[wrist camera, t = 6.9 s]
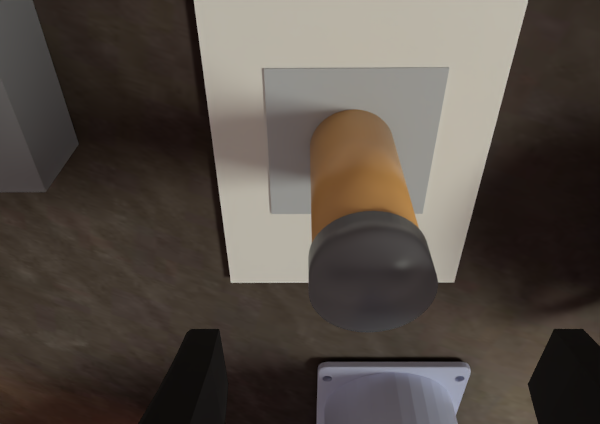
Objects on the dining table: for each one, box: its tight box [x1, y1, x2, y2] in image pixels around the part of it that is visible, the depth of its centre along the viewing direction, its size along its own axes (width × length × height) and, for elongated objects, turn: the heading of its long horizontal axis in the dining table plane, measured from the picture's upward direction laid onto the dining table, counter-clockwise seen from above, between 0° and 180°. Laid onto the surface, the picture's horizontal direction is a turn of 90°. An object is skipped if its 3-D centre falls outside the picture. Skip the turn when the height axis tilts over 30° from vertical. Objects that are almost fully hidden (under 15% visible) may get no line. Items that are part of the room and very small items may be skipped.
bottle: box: [308, 109, 438, 332], centre depth 15 cm, size 3×3×7 cm
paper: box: [194, 0, 528, 283], centre depth 18 cm, size 14×10×1 cm
